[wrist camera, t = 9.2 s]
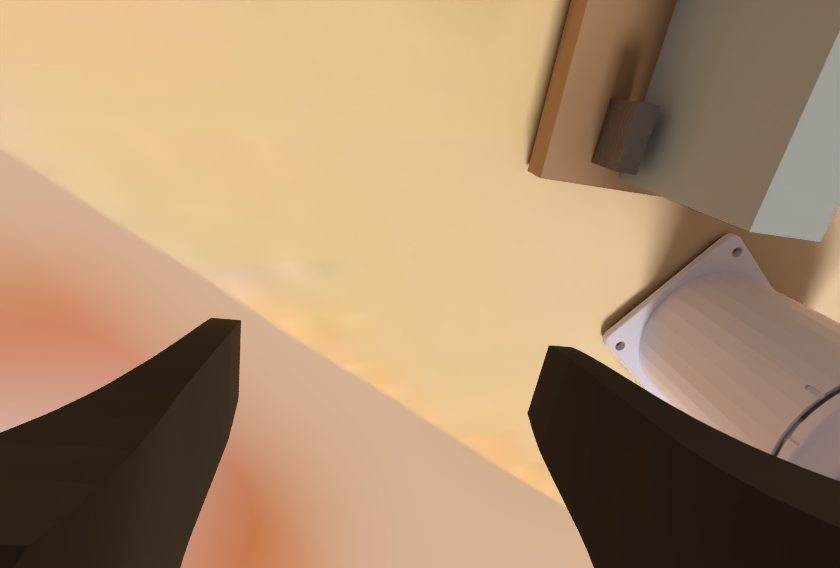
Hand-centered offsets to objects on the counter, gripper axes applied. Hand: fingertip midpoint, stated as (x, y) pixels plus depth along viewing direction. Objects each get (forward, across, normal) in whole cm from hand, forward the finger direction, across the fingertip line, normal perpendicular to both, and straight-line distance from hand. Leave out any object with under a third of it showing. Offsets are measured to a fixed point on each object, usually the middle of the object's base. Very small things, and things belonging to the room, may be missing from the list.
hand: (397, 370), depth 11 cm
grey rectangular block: (+9, -11, -9) cm, 17 cm away
